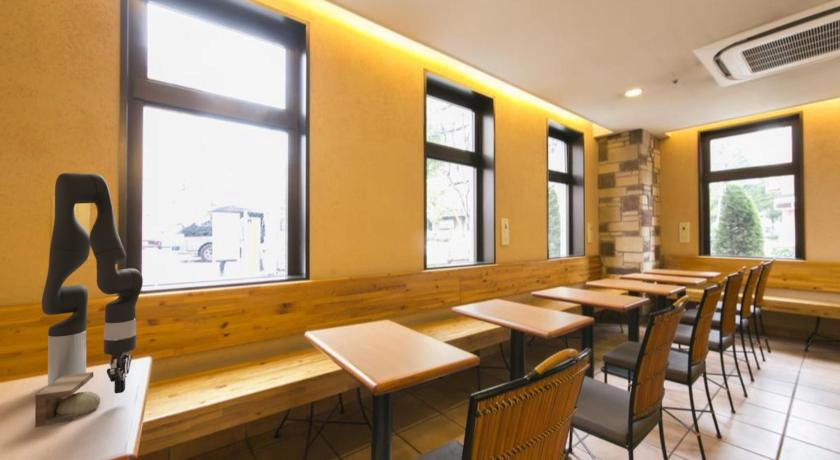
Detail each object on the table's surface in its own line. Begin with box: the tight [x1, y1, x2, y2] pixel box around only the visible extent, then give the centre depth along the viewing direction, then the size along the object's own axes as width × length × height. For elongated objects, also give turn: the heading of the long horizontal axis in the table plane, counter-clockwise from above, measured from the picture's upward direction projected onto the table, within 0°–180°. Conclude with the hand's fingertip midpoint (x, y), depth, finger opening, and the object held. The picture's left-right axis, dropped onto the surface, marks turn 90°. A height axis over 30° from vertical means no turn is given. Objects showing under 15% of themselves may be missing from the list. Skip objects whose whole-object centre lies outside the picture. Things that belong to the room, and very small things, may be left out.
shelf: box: [34, 371, 94, 428], centre depth 101 cm, size 14×7×8 cm, turn 24°
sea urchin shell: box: [56, 391, 101, 417], centre depth 102 cm, size 9×8×8 cm
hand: (119, 391), depth 106 cm, fingers closed
